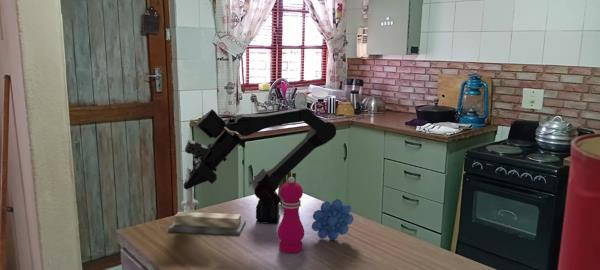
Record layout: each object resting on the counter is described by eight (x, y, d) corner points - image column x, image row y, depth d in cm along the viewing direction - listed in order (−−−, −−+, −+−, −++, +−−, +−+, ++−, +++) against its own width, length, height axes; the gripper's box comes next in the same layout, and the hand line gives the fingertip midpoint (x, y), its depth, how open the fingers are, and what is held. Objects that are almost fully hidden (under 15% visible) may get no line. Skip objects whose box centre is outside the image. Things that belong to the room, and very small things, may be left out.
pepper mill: (301, 255, 120) (302, 181, 116) (274, 253, 121) (274, 179, 117) (306, 244, 127) (307, 174, 123) (280, 241, 128) (281, 172, 124)
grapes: (352, 234, 134) (353, 195, 132) (353, 244, 127) (354, 203, 125) (312, 232, 135) (313, 193, 132) (310, 242, 128) (311, 201, 126)
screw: (186, 205, 140) (201, 207, 139) (178, 211, 135) (193, 212, 134) (185, 164, 138) (200, 165, 136) (176, 168, 133) (192, 169, 132)
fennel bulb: (297, 204, 159) (297, 171, 156) (288, 208, 155) (288, 174, 153) (284, 201, 162) (284, 168, 160) (275, 204, 158) (275, 170, 156)
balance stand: (245, 223, 141) (245, 211, 141) (239, 234, 132) (239, 222, 132) (178, 220, 143) (178, 208, 142) (168, 231, 134) (168, 219, 133)
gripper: (199, 125, 142) (163, 162, 142) (203, 136, 125) (162, 178, 124) (225, 148, 146) (191, 184, 145) (232, 162, 128) (194, 204, 128)
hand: (184, 187), depth 135 cm, fingers closed on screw, 2 cm apart
